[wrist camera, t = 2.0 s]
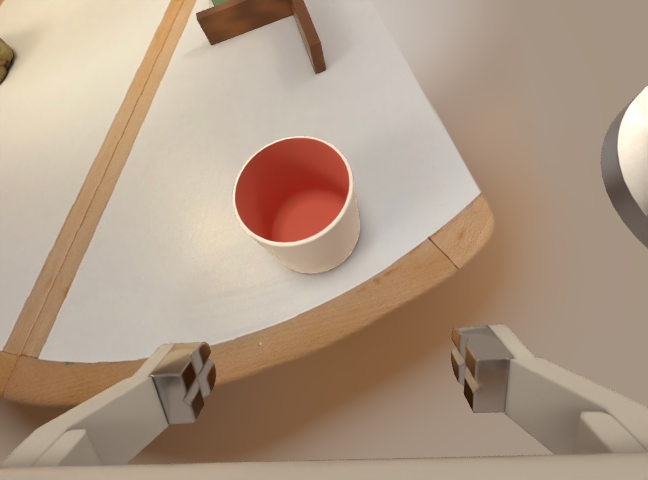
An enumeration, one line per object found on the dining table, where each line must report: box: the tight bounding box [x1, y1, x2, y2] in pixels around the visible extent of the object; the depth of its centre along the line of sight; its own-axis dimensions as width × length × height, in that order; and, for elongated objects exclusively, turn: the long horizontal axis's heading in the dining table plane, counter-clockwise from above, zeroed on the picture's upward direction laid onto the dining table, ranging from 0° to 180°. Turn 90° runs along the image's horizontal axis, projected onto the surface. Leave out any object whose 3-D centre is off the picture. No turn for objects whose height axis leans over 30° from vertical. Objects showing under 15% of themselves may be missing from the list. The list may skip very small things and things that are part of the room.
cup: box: [232, 136, 360, 274], centre depth 28 cm, size 10×10×10 cm
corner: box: [196, 0, 326, 73], centre depth 42 cm, size 15×15×4 cm
